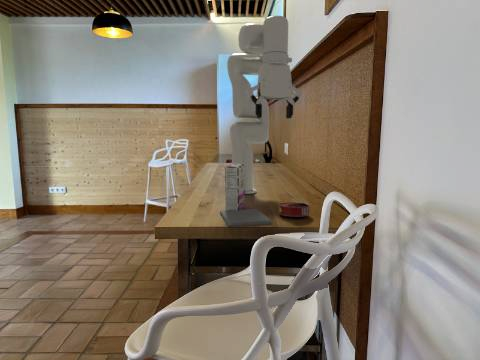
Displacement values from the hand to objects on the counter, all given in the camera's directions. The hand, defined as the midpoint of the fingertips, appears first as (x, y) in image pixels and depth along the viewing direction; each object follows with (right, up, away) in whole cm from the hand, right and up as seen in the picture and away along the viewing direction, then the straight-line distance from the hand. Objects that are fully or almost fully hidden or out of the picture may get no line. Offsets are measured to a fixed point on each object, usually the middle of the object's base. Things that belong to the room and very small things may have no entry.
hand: (274, 118), depth 103 cm
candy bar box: (-12, -31, +15) cm, 36 cm away
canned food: (+6, -32, +3) cm, 33 cm away
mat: (-9, -32, +2) cm, 33 cm away
